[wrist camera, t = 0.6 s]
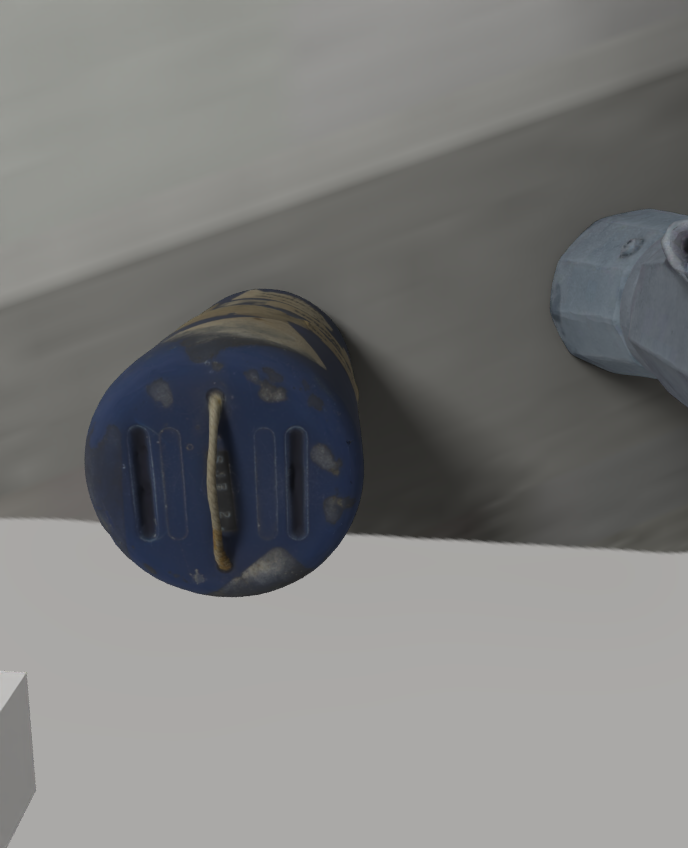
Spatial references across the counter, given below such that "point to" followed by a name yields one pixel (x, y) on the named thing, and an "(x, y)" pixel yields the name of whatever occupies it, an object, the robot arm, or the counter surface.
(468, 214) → the counter surface
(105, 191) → the counter surface
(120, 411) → the canister
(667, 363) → the moka pot
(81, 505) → the counter surface
